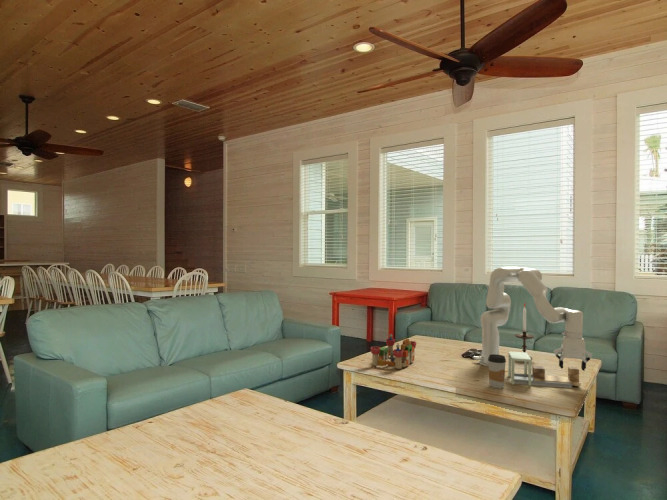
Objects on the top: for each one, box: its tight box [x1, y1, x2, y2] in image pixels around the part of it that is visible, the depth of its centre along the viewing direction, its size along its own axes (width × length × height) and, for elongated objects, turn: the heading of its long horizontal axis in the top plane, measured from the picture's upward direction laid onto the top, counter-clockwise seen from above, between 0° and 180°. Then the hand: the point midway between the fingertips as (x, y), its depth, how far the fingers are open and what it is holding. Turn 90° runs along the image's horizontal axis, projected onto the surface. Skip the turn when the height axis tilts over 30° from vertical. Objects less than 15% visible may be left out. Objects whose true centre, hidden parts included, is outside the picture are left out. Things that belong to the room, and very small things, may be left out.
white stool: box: [507, 351, 532, 387], centre depth 221 cm, size 9×15×13 cm, turn 164°
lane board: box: [514, 372, 573, 389], centre depth 218 cm, size 26×12×2 cm, turn 74°
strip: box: [533, 366, 582, 387], centre depth 216 cm, size 20×10×7 cm, turn 74°
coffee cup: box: [488, 354, 507, 389], centre depth 212 cm, size 8×8×15 cm
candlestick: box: [514, 302, 535, 361], centre depth 265 cm, size 11×11×35 cm
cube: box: [531, 365, 546, 379], centre depth 218 cm, size 5×5×5 cm
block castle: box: [370, 333, 417, 369], centre depth 258 cm, size 30×20×14 cm
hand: (572, 368), depth 215 cm, fingers open, 9 cm apart
